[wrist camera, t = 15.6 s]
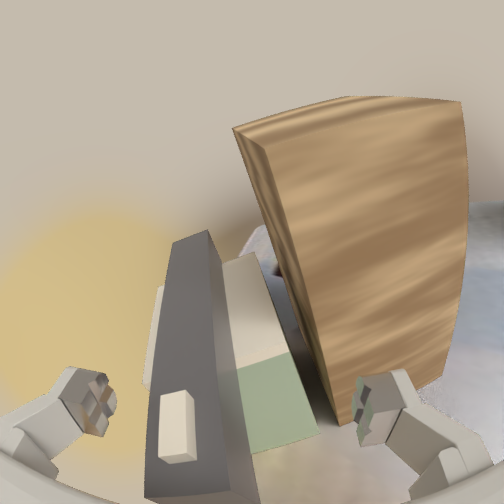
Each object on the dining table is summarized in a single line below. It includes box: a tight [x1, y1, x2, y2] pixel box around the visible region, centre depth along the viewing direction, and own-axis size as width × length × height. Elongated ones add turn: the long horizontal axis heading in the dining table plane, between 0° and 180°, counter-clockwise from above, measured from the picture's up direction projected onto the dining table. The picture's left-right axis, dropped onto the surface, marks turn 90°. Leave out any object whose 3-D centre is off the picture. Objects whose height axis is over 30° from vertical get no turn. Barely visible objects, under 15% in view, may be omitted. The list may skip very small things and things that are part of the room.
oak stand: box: [232, 96, 469, 426], centre depth 25 cm, size 16×12×26 cm
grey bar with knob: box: [144, 230, 261, 504], centre depth 18 cm, size 22×4×4 cm, turn 9°
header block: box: [142, 252, 320, 454], centre depth 26 cm, size 12×10×15 cm
